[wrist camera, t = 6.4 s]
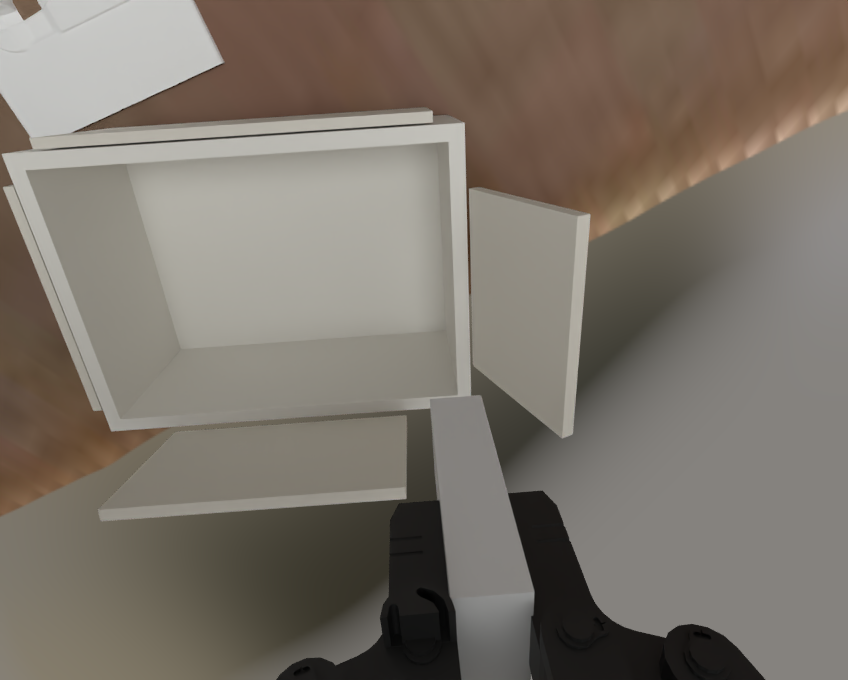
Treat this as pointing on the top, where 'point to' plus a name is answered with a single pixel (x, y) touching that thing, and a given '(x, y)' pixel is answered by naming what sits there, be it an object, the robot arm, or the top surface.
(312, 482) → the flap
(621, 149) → the top surface
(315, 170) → the carton
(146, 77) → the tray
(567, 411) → the end flap
